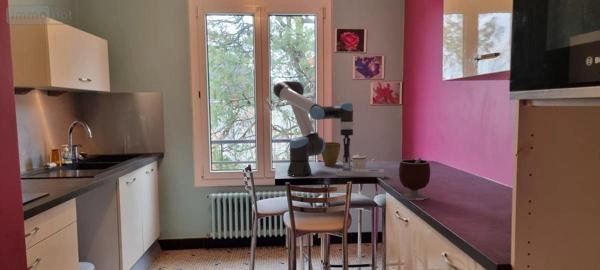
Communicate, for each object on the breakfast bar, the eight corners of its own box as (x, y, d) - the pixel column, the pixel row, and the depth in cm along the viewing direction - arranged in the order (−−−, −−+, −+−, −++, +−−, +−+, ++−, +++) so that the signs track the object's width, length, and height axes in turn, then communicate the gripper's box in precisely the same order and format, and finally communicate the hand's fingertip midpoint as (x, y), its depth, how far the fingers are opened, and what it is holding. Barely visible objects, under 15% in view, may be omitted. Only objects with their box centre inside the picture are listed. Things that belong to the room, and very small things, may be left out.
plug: (343, 175, 226) (343, 153, 225) (343, 173, 230) (343, 152, 229) (349, 175, 225) (349, 153, 224) (350, 174, 229) (350, 152, 228)
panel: (336, 177, 224) (336, 170, 224) (337, 174, 233) (337, 168, 233) (384, 178, 219) (384, 171, 218) (383, 175, 228) (383, 169, 227)
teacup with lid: (363, 169, 252) (363, 151, 251) (368, 171, 243) (368, 153, 242) (346, 169, 250) (346, 152, 249) (350, 172, 241) (350, 154, 240)
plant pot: (323, 167, 261) (323, 144, 260) (317, 164, 275) (317, 142, 274) (343, 166, 265) (343, 143, 263) (336, 163, 279) (336, 141, 278)
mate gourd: (395, 194, 182) (395, 153, 180) (424, 193, 182) (424, 152, 180) (404, 202, 166) (404, 158, 165) (435, 202, 166) (436, 157, 165)
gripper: (352, 129, 216) (352, 169, 218) (353, 127, 233) (353, 164, 235) (339, 129, 218) (339, 169, 220) (341, 127, 234) (341, 164, 236)
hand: (346, 167), depth 227 cm, fingers closed on plug, 4 cm apart
